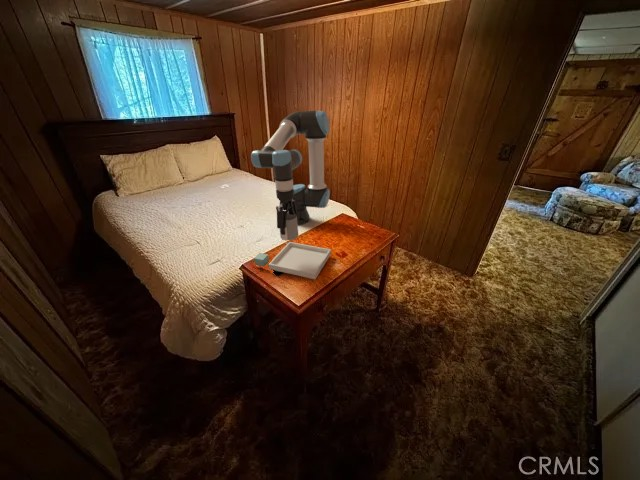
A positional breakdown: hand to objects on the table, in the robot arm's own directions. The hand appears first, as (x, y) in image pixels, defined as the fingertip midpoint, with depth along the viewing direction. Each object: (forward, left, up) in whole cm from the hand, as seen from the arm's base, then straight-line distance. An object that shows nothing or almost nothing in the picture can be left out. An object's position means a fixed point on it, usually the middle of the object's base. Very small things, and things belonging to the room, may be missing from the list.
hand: (289, 235), depth 119 cm
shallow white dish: (0, +5, -15) cm, 16 cm away
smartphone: (+7, -6, -16) cm, 19 cm away
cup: (0, 0, -1) cm, 1 cm away
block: (+7, -13, -15) cm, 21 cm away
